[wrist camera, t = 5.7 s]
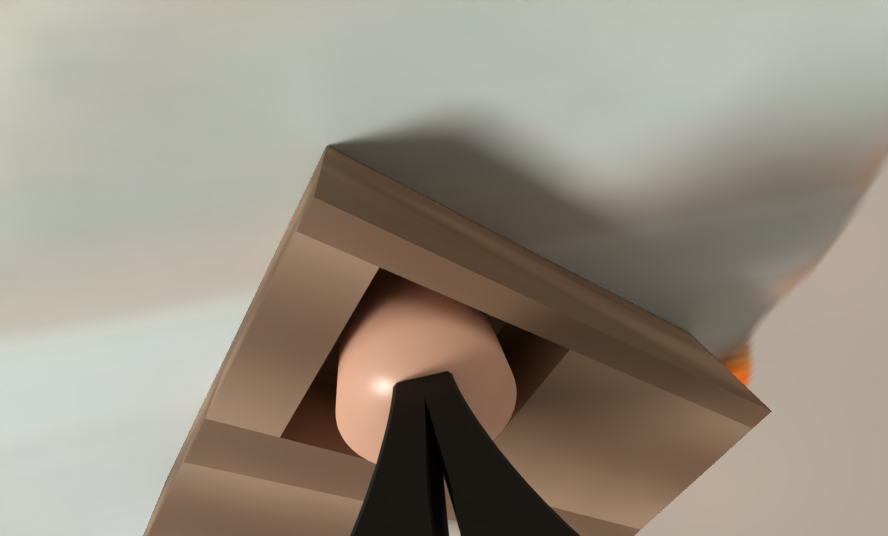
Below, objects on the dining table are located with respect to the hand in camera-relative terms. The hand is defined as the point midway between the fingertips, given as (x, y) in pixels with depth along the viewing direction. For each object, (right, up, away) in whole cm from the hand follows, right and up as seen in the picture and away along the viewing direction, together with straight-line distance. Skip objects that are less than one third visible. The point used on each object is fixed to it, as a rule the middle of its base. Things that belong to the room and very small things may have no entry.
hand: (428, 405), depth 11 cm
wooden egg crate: (0, -2, +6) cm, 6 cm away
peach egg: (-1, +2, +3) cm, 3 cm away
